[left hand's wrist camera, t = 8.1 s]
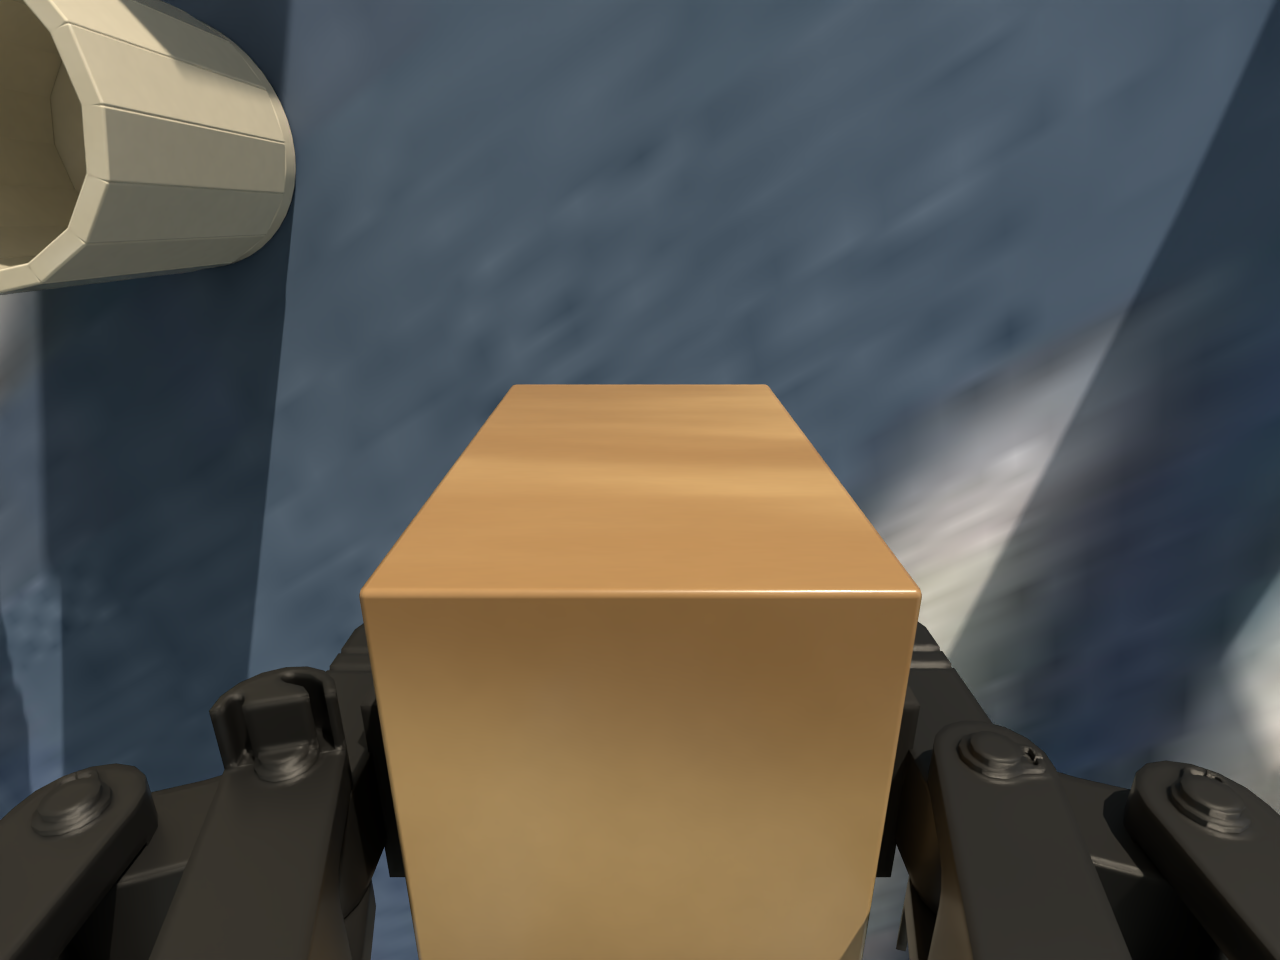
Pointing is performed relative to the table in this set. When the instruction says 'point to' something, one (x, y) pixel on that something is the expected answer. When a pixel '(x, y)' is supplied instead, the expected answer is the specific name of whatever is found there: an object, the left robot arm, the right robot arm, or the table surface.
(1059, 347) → the table surface
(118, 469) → the table surface
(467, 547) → the pine beam
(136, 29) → the cream cup
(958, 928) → the left robot arm
